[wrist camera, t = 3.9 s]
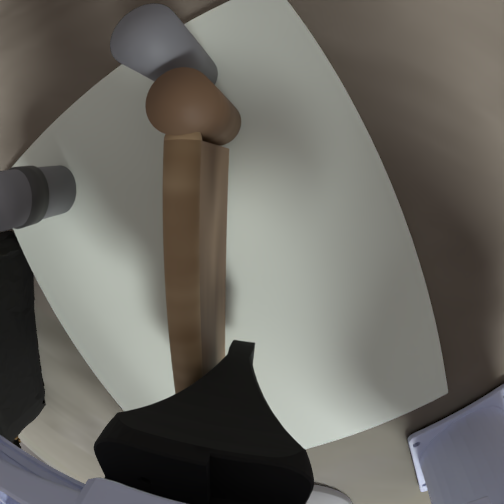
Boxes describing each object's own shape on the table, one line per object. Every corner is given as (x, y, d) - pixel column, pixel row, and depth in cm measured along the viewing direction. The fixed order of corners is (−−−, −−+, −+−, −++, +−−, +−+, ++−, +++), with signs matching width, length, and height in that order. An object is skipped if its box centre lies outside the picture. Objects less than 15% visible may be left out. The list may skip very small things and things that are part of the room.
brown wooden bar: (195, 101, 11) (148, 71, 7) (242, 100, 11) (216, 64, 6) (198, 394, 14) (172, 457, 10) (233, 399, 14) (215, 465, 10)
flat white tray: (443, 384, 14) (479, 452, 9) (183, 462, 18) (160, 522, 13) (274, -9, 10) (263, -87, 5) (6, 184, 14) (-65, 198, 9)
